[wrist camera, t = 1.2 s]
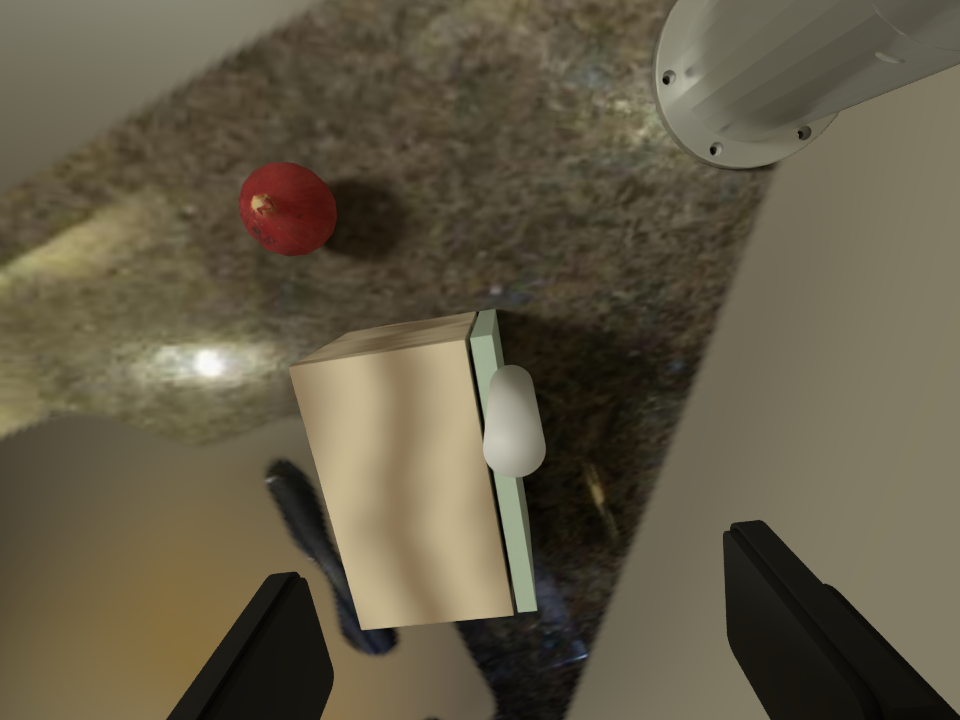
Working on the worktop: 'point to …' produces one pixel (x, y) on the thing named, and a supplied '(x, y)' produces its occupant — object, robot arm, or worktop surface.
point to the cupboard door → (509, 446)
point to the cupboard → (407, 472)
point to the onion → (287, 209)
